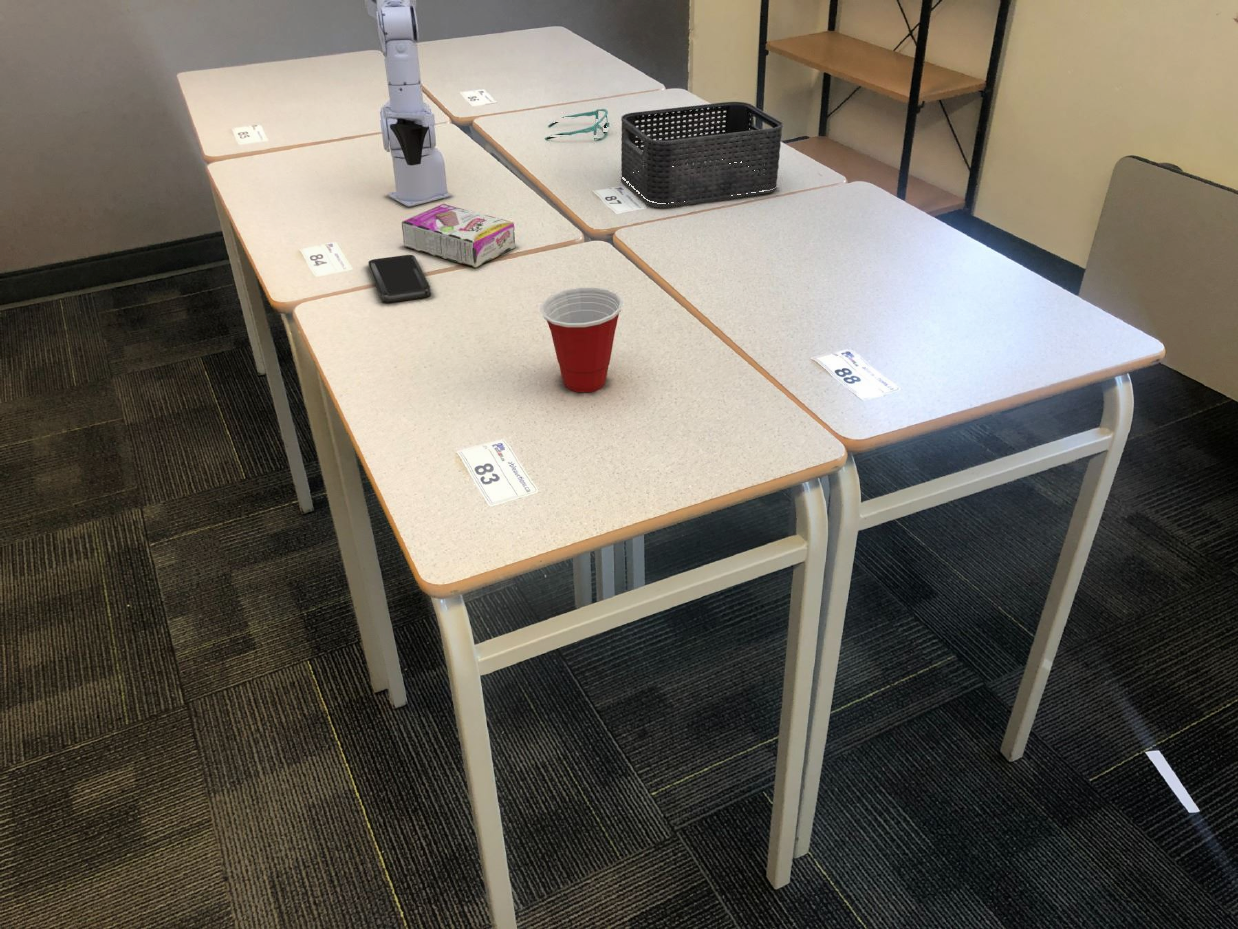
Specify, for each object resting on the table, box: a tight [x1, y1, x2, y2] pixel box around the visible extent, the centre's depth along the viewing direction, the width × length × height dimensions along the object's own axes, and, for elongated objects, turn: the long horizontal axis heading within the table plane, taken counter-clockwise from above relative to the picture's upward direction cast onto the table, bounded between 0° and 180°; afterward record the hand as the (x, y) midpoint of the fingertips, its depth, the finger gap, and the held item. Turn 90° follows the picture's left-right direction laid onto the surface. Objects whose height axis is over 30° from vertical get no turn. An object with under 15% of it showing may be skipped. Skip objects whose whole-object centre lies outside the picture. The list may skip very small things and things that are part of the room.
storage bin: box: [620, 101, 784, 209], centre depth 190 cm, size 29×19×13 cm
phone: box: [367, 254, 432, 304], centre depth 155 cm, size 8×1×15 cm
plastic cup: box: [539, 286, 624, 394], centre depth 126 cm, size 11×11×12 cm
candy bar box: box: [401, 203, 516, 269], centre depth 165 cm, size 11×5×16 cm
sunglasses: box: [544, 108, 610, 141], centre depth 221 cm, size 14×15×5 cm
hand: (414, 164), depth 171 cm, fingers closed
